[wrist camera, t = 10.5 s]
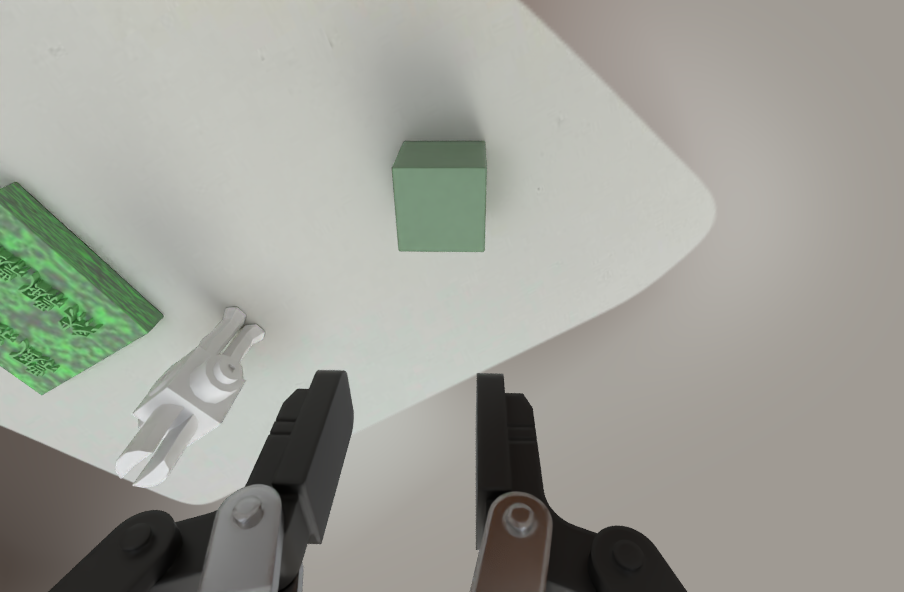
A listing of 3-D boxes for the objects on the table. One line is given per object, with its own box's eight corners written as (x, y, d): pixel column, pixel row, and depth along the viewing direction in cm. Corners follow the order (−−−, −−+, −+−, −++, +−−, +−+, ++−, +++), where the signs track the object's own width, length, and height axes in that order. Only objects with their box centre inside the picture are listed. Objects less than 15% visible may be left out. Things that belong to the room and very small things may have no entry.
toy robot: (182, 338, 35) (64, 482, 25) (249, 283, 32) (147, 421, 22) (226, 371, 37) (132, 518, 27) (294, 321, 34) (217, 466, 24)
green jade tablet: (163, 316, 34) (143, 337, 32) (60, 377, 38) (36, 400, 36) (15, 182, 29) (-20, 197, 27) (-87, 268, 33) (-125, 287, 30)
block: (403, 140, 27) (391, 167, 23) (485, 140, 26) (486, 167, 23) (408, 216, 29) (398, 251, 25) (483, 217, 29) (484, 252, 25)
